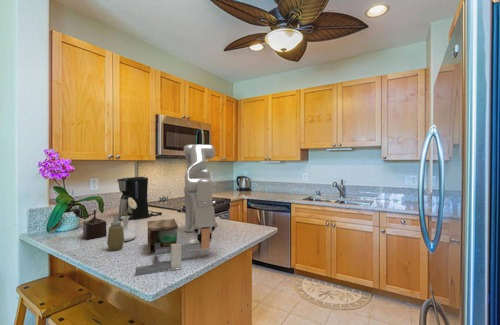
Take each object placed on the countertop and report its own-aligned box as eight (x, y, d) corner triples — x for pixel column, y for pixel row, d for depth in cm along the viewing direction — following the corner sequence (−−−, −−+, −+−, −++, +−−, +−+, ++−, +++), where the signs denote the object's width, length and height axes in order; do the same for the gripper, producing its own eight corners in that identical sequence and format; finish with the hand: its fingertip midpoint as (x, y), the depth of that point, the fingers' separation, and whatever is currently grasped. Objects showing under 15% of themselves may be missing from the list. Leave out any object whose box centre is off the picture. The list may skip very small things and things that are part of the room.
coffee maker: (112, 218, 198) (112, 177, 198) (150, 211, 223) (150, 175, 223) (125, 222, 184) (125, 178, 184) (163, 215, 209) (163, 176, 209)
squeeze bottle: (112, 252, 123) (112, 217, 123) (103, 249, 127) (104, 215, 127) (127, 248, 130) (127, 214, 130) (119, 245, 134) (119, 212, 134)
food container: (156, 251, 126) (157, 231, 126) (155, 247, 131) (155, 228, 131) (180, 247, 131) (181, 228, 131) (178, 243, 137) (178, 226, 137)
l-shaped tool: (179, 265, 109) (180, 243, 109) (181, 268, 105) (181, 245, 105) (135, 272, 101) (135, 248, 101) (135, 276, 98) (135, 251, 98)
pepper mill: (101, 232, 157) (101, 205, 157) (106, 236, 150) (107, 207, 149) (72, 238, 145) (72, 208, 145) (76, 242, 138) (77, 211, 138)
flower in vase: (124, 244, 136) (124, 199, 136) (109, 241, 140) (109, 198, 140) (142, 237, 148) (142, 196, 148) (128, 235, 152) (128, 195, 152)
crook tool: (204, 241, 128) (204, 222, 128) (209, 248, 118) (209, 228, 118) (154, 247, 119) (154, 227, 119) (155, 256, 108) (155, 233, 108)
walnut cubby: (174, 241, 141) (174, 218, 141) (177, 251, 125) (177, 225, 125) (147, 244, 135) (147, 221, 135) (147, 255, 120) (147, 228, 120)
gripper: (218, 202, 126) (218, 237, 126) (186, 204, 119) (186, 241, 119) (222, 204, 119) (222, 241, 119) (188, 206, 113) (188, 245, 112)
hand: (204, 240), depth 119 cm, fingers closed on crook tool, 4 cm apart
